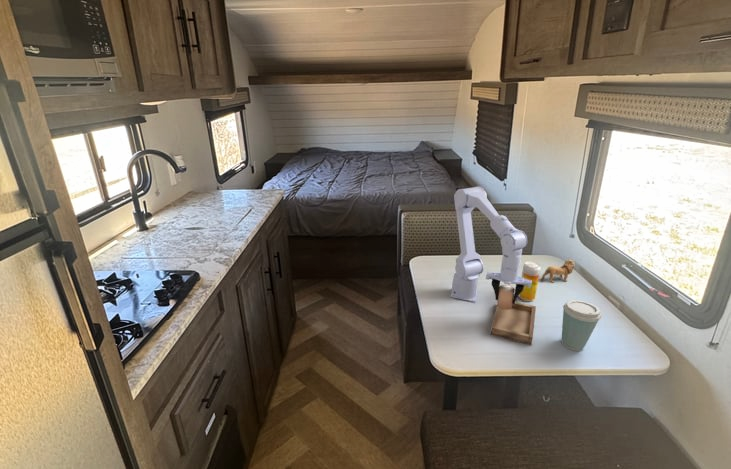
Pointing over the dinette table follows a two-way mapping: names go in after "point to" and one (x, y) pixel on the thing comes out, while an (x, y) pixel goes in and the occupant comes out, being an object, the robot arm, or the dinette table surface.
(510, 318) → the tray
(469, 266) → the robot arm
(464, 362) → the dinette table surface
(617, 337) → the dinette table surface
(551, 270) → the lion figurine
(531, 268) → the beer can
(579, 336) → the disposable coffee cup
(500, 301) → the tan and white cylinder
